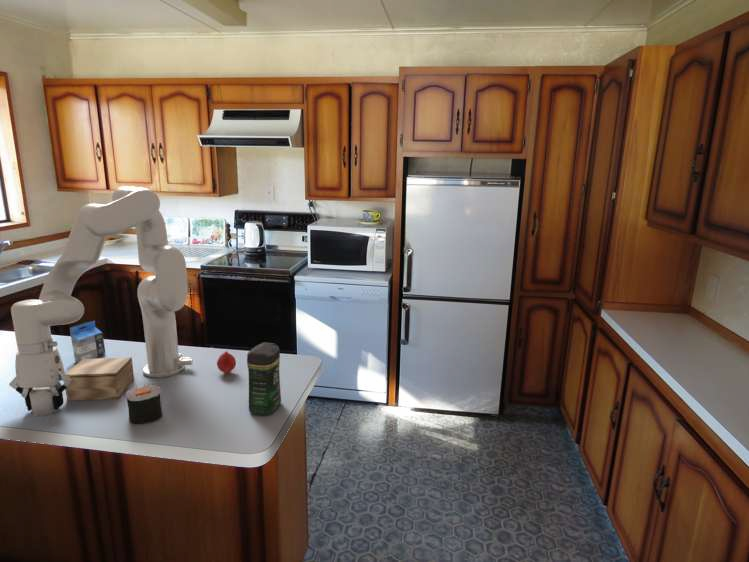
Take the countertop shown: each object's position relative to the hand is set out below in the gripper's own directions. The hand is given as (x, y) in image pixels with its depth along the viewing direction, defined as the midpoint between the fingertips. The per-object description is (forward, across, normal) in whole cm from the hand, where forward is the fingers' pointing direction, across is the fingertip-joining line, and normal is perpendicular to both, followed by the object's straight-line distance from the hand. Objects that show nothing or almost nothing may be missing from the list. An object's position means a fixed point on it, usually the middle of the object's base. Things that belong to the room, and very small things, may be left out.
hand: (45, 407), depth 128 cm
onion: (+1, -45, -19) cm, 49 cm away
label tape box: (+1, +4, -36) cm, 36 cm away
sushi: (+1, -28, +6) cm, 29 cm away
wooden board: (-6, -10, -11) cm, 16 cm away
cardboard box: (+1, -10, -11) cm, 15 cm away
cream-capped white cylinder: (+1, 0, 0) cm, 1 cm away
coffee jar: (+1, -60, +4) cm, 60 cm away
